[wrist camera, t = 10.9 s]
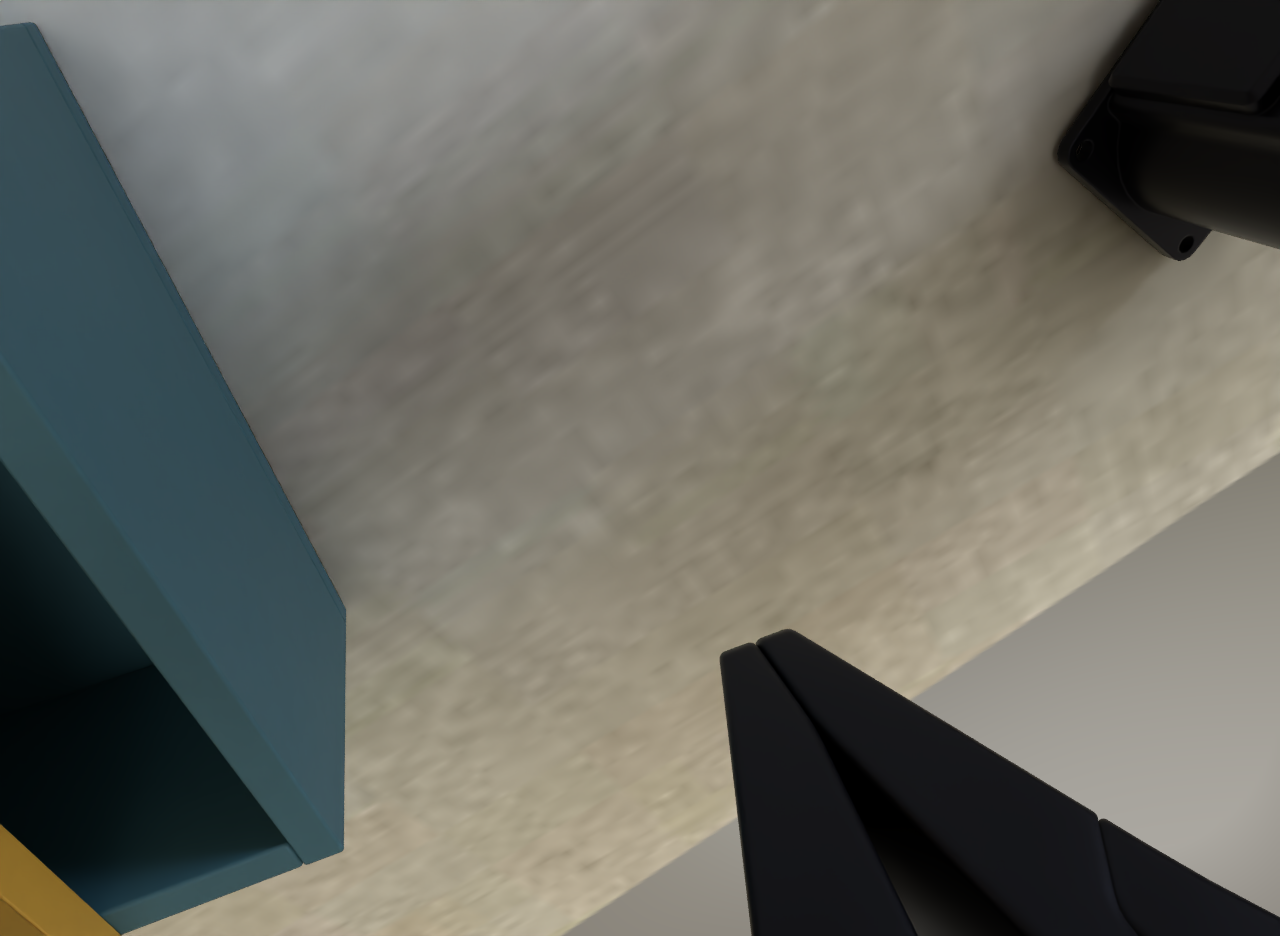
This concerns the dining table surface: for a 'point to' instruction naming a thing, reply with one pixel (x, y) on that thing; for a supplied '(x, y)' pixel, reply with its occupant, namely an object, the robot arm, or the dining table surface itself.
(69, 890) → the bin lid
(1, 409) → the storage bin
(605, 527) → the dining table surface
